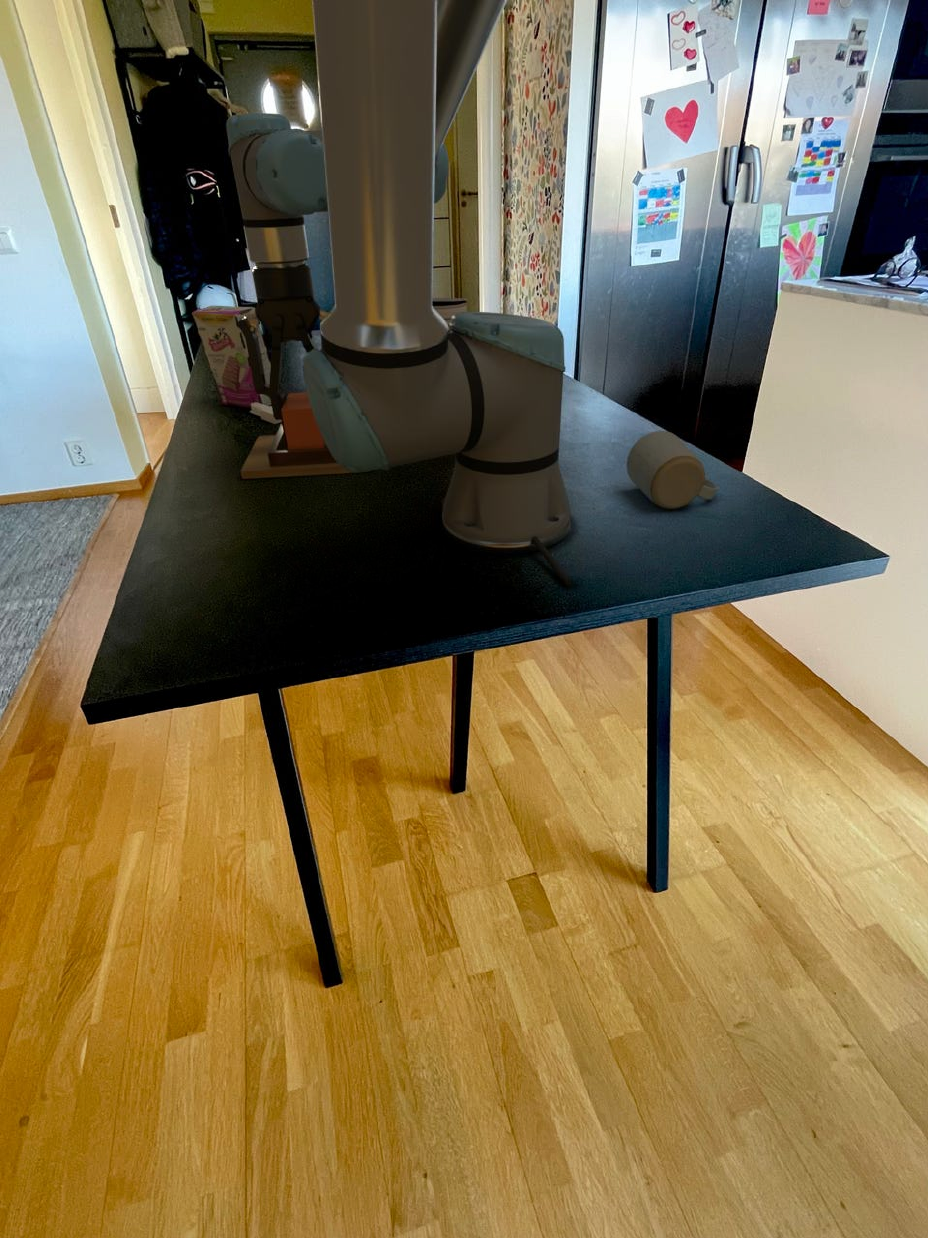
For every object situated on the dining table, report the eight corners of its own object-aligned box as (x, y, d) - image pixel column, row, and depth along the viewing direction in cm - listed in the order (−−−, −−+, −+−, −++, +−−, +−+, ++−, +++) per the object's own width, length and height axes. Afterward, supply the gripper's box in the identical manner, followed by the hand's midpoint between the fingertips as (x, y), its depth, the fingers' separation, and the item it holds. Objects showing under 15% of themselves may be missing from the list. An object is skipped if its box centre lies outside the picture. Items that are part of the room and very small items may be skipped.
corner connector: (281, 402, 123) (280, 393, 122) (310, 412, 119) (309, 404, 119) (245, 412, 118) (244, 403, 117) (274, 423, 114) (273, 414, 113)
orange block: (323, 449, 96) (317, 407, 93) (288, 451, 96) (281, 409, 92) (328, 431, 103) (322, 391, 99) (295, 432, 102) (288, 393, 99)
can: (410, 355, 153) (406, 298, 147) (439, 345, 161) (437, 291, 154) (450, 361, 148) (448, 302, 141) (478, 350, 155) (477, 294, 149)
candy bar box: (220, 405, 124) (189, 311, 114) (240, 396, 127) (211, 304, 118) (263, 410, 119) (234, 313, 109) (282, 401, 122) (256, 305, 112)
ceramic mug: (647, 515, 80) (657, 454, 76) (622, 489, 87) (629, 431, 83) (728, 507, 82) (742, 447, 78) (697, 482, 89) (708, 425, 84)
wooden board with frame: (369, 472, 95) (367, 450, 93) (242, 479, 94) (237, 457, 92) (372, 437, 107) (370, 417, 105) (260, 443, 106) (256, 423, 104)
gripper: (352, 257, 89) (370, 428, 102) (216, 262, 88) (252, 434, 101) (348, 264, 83) (368, 444, 96) (202, 270, 82) (242, 451, 95)
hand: (308, 439), depth 99 cm, fingers closed on orange block, 5 cm apart
